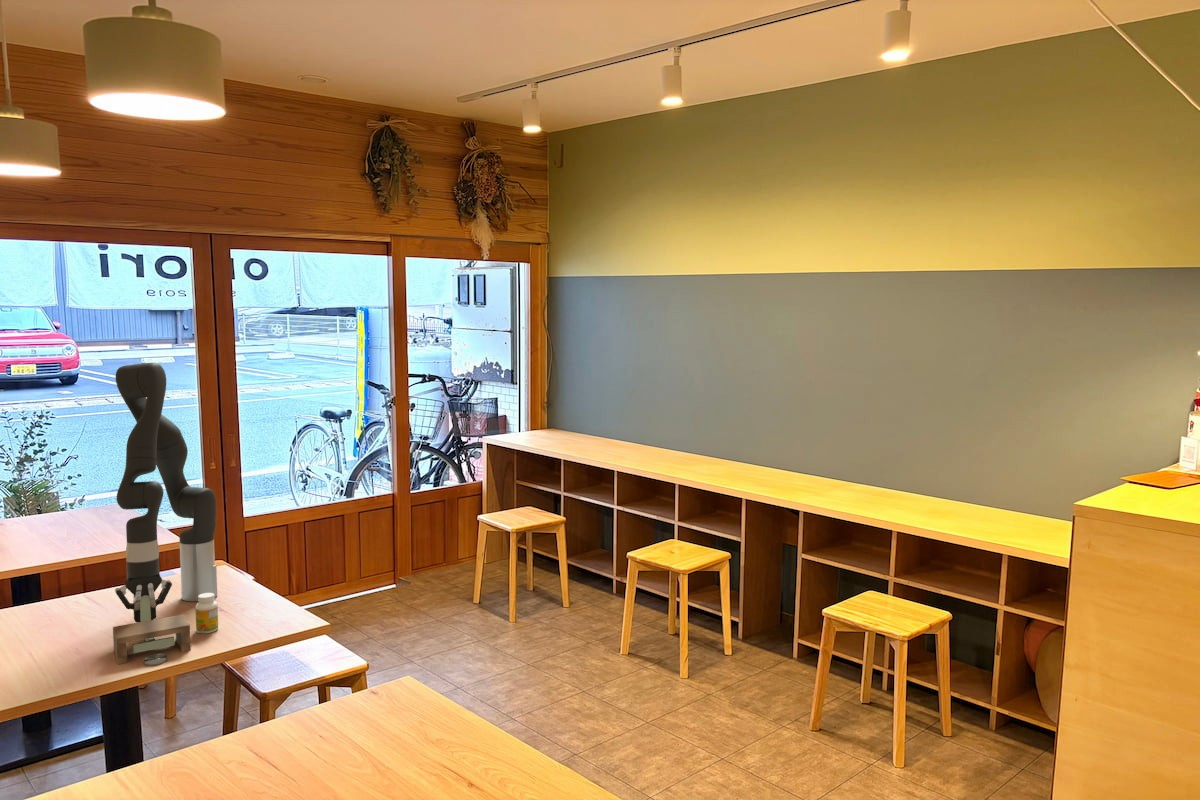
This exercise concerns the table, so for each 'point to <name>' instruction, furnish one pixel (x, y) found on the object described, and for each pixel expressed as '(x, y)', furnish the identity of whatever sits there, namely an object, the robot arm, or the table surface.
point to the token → (155, 659)
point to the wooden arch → (150, 633)
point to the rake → (150, 642)
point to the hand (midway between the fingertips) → (145, 621)
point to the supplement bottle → (206, 613)
